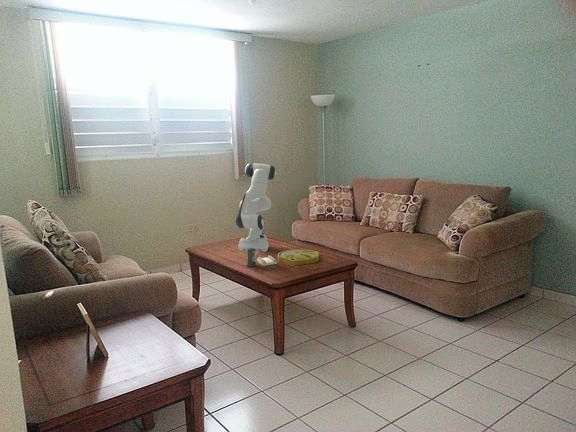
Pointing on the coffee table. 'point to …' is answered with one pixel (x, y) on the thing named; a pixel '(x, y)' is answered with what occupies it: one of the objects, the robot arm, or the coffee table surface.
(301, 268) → the coffee table surface
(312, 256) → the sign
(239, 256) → the coffee table surface
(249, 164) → the robot arm
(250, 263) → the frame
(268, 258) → the display stand
